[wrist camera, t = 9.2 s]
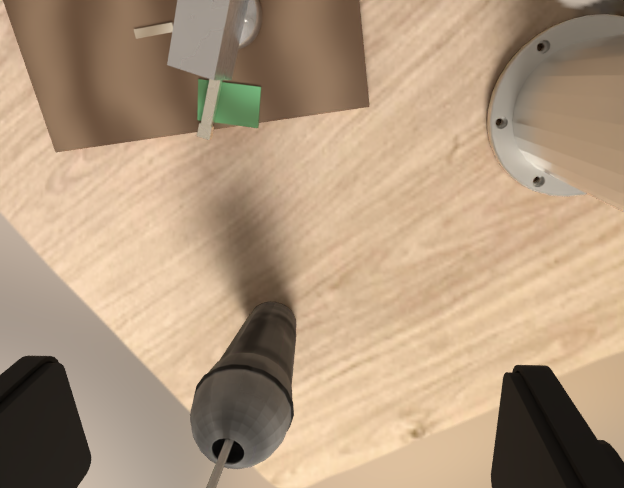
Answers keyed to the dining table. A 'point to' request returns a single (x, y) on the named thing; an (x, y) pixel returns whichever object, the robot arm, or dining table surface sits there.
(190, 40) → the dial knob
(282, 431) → the beverage cup
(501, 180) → the dining table surface
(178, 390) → the dining table surface
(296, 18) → the board
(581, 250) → the dining table surface
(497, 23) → the dining table surface
